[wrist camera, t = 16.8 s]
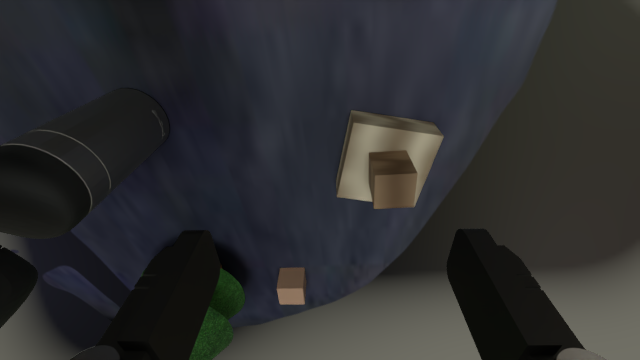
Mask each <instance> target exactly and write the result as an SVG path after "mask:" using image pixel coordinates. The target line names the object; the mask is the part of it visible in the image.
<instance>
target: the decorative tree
mask: <svg viewBox="0 0 640 360" xmlns="http://www.w3.org/2000/svg"><path fill="white" fill-rule="evenodd" d="M145 270H146V269H145ZM145 270H144V271H145ZM143 273H144V272H143ZM143 273H142V276H143ZM142 276H141V277H142ZM244 302H245V294H244V291H243V288H242V286H241V285H240V283H239V282H238V281H237V280H236V279H235V278H234V277H233V276H232V275H231V274H229V273H228V272H226V271H225V270H223V269H222V265H221V264H220V276H219V280H218V283H217V286H216V288H215V291H214V294H213V296H212V299H211V302H210V305H209V307H208V310H207V313H206V315H205V318H204V321H203V323H202V326H201V329H200V331H199V334H198V337H197V339H196V342H195V345H194V348H193V350H192V353H191V356H190V358H189V360H212V359H213V358H214V357H215V356H217V355H218V354H219V353H220V352H221V351H222V350H224V349H225V348H226V347H227V346H228V345H229V344H230V343H231V341H232V339H233V329H232V327H231V325H230V323H229V322H228V319H230V318H231V317H233V316H234V315H235V314H237V313H238V312H239V311H240V310H241V309H242V307H243V305H244Z"/></svg>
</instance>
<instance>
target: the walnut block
mask: <svg viewBox="0 0 640 360" xmlns="http://www.w3.org/2000/svg"><path fill="white" fill-rule="evenodd" d="M417 175H418V173H417V171H416V169H415V167H414V165H413V163H412V161H411V159H410V157H409V155H408V153H407V151H406V150H402V151H385V152H369V188H370V192H371V197H372V202H373V206H374V209H381V208H402V207H414V201H415V192H416V184H417Z"/></svg>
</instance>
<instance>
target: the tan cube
mask: <svg viewBox="0 0 640 360" xmlns="http://www.w3.org/2000/svg"><path fill="white" fill-rule="evenodd" d="M277 292H278V297H279V302H280V304H305V294H306V276H305V268H280V272H279V278H278V284H277Z"/></svg>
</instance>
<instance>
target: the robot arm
mask: <svg viewBox="0 0 640 360" xmlns="http://www.w3.org/2000/svg"><path fill="white" fill-rule="evenodd" d="M168 134H169V122H168V118H167V116H166V114H165V112H164V111H163V109H162V108H161V106H160V105H159V104H158V103H157V102H156V101H155V100H154V99H152V98H151V97H150V96H148V95H146V94H145V93H143V92H140V91H138V90H135V89H129V88H120V89H117V90H114V91H112V92H110V93H108V94H106V95H104V96H101V97H99V98H97V99H95V100H93V101H91V102H89V103H87V104H85V105H83V106H81V107H79V108H76V109H74V110H72V111H70V112H68V113H66V114H64V115H62V116H60V117H58V118H56V119H54V120H52V121H50V122H47V123H45V124H43V125H41V126H39V127H37V128H35V129H33V130H31V131H29V132H27V133H25V134H23V135H21V136H19V137H17V138H15V139H13V140H11V141H9V142H7V143H4V144H2V145H0V232H3V233H7V234H12V235H16V236H20V237H26V238H38V239H43V238H52V237H57V236H60V235H62V234H64V233H66V232H68V231H70V230H71V229H72V228H74V227H75V226H76V225H77V224H78V223H79V222H80V221H81V220H82V219H83V218H84V217H86V216H87V215H88V214H89V213H90V212H91V211H92V210H93V209H94V208H95V207H96V206H97V205H98V204H99V203H100V202H101V201H103V200H104V198H105V197H107V196H108V195H109V194H110V193H111V192H112V191H113V190H114V189H115V188H116V187H117V186H118V185H119V184H120V183H121V182H122V181H123V180H125V179H126V178H127V177H128V176H129V175H130V174H131V173H132V172H133V171H134V170H135V169H136V168H137V167H138V166H139V165H140V164H141V163H142V162H144V161H145V160H146V159H147V158H148V157H149V156H150V155H151V154H152V153H153V152H154V151H155V150H156V149H157V148H158V147H159V146H160V145H161V144H162V143H164V142H165V140H166V139H167V137H168ZM1 247H2V246H1V245H0V248H1ZM447 275H448V279H449V282H450V284H451V286H452V289H453V291H454V294H455V296H456V299H457V301H458V303H459V306H460V308H461V311H462V313H463V315H464V318H465V320H466V323H467V325H468V327H469V330H470V332H471V335H472V337H473V339H474V342H475V344H476V347H477V349H478V352H479V354H480V356H481V359H482V360H606V359H605V358H603V357H601V356H599V355H597V354H595V353H593V352H591V351H587V350H586V349H585V348H584V347H583V346H582V344H581V343H580V342H579V341H578V339H577V338H576V336H575V335H574V333H573V332H572V331H571V329H570V328H569V326H568V325H567V324H566V322H565V321H564V319H563V318H562V317H561V315H560V314H559V312H558V311H557V310H556V308H555V307H554V305H553V304H552V303H551V301H550V300H549V298H548V297H547V295H546V294H545V293H544V291H543V290H541V289H540V286H539V285H538V283H537V281H536V280H535V279H534V277H532V276H531V273H530V271H529V270H528V269H527V267H526V266H525V265H524V263H523V262H522V260H521V259H520V258H519V257H518V256H516V255H515V254H514V253H513V252H512V251H510V250H509V249H508V248H507V247H505V246H497V244H496V243H495V242H494V240H493V238H492V237H491V235H490V234H489V232H487V230H485V229H458V230H457V232H456V234H455V237H454V241H453V244H452V247H451V250H450V254H449V257H448V261H447ZM219 276H220V261H219V258H218V255H217V252H216V248H215V245H214V242H213V239H212V236H211V233H210V232H209V231H208V230H185V231H183V232H182V233H181V234H180V236H179V237H178V239H177V241H176V242H175V244H174V246H173V247H166V248H165V249H163V250H162V251H161V252H160V253H159V254H158V255H157V256H155V257H154V258H153V259H152V260H151V262H150V263H149V265H148V266H147V268H146V270H145V271H144V273H143V276H142V277H140V279H139V280H138V282H137V283H136V285H135V289H134V290H132V291H131V293H130V294H129V296H128V297H127V299H126V301H125V302H124V304H123V305H122V307H121V308H120V310H119V311H118V313H117V314H116V316H115V318H114V319H113V321H112V322H111V324H110V325H109V327H108V328H107V330H106V332H105V333H104V335H103V336H102V338H101V339H100V341H99V342H98V343H97V344H96V346H95V347H91V348H88V349H86V350H84V351H82V352H80V353H79V354H77V355H75V356H74V357H73V358H71V359H70V360H189V358H190V356H191V353H192V350H193V348H194V345H195V342H196V339H197V337H198V334H199V331H200V329H201V326H202V323H203V321H204V318H205V315H206V313H207V310H208V307H209V305H210V302H211V299H212V296H213V294H214V291H215V288H216V286H217V283H218V280H219ZM37 279H38V272H37V270H36V268H35V267H34V266H33V265H31V264H30V263H29V262H27V261H26V260H24V259H23V258H22V257H20V256H18V255H17V254H15V253H13V252H12V251H10V250H8V249H7V248H2V249H0V328H1V327H2V326H3V325H4V324H5V323H6V322H7V320H8V319H9V318H10V317H11V316H12V315H13V314H14V313H15V312H16V311H17V310H18V308H19V307H20V306H21V305H22V304H23V302H24V301H25V300H26V299H27V297H28V296H29V294H30V293H31V291H32V290H33V288H34V286H35V284H36V282H37Z"/></svg>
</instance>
